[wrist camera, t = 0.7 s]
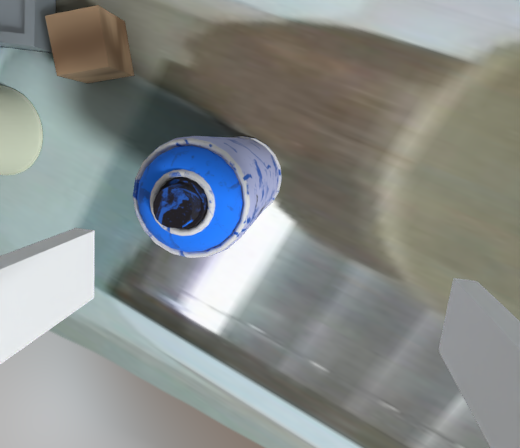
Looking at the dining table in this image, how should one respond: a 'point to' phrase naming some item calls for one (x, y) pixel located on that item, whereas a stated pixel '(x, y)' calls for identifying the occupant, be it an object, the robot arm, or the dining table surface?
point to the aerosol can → (204, 192)
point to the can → (18, 132)
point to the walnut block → (89, 45)
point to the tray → (25, 24)
